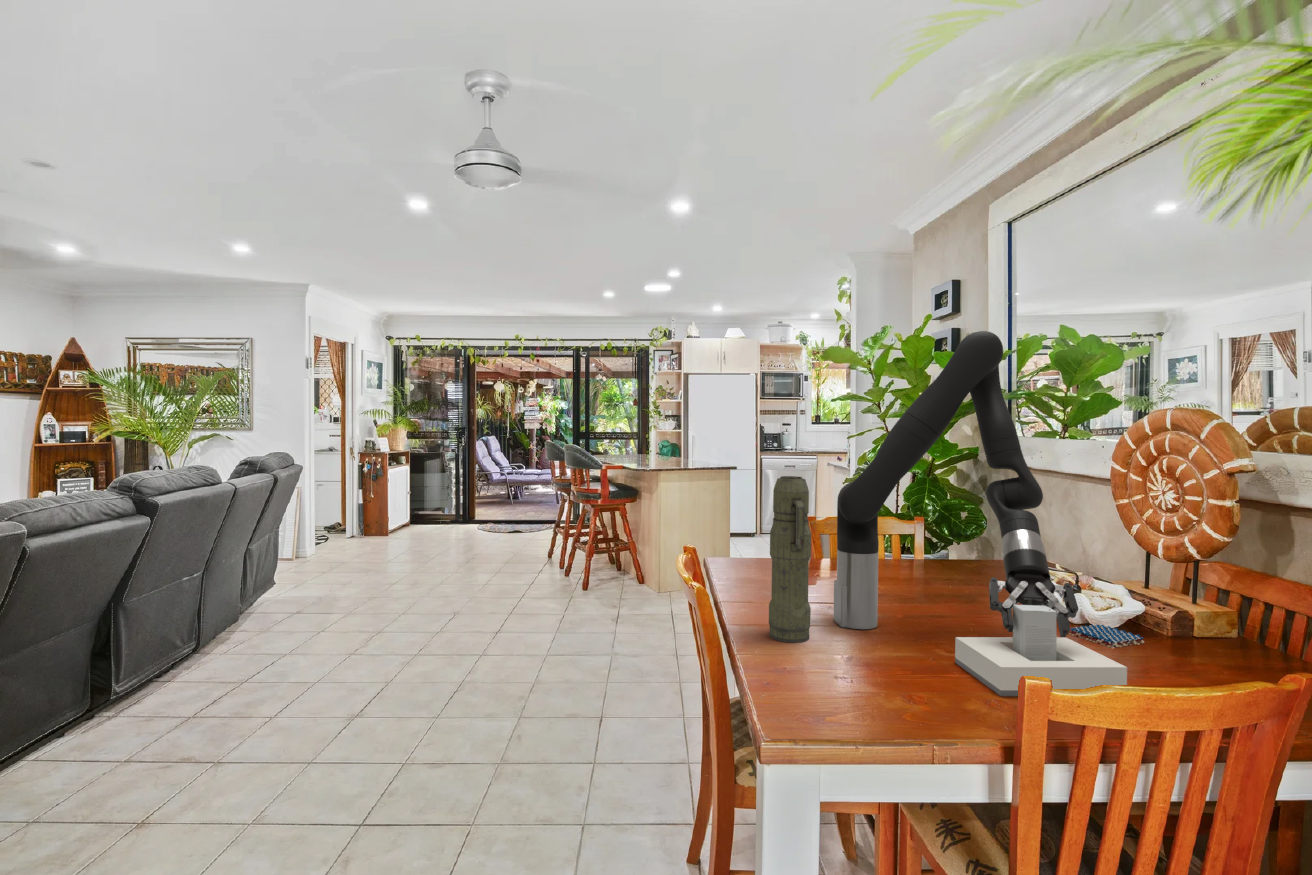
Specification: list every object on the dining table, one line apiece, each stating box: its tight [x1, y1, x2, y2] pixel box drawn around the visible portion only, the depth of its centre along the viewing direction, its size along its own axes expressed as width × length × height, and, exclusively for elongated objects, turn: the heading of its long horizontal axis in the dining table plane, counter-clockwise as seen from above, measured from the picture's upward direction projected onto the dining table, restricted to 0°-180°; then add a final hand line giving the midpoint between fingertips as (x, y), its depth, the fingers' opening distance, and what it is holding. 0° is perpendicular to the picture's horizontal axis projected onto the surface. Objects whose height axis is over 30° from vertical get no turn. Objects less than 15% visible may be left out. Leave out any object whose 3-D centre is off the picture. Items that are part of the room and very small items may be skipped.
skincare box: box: [1012, 604, 1058, 661], centre depth 119 cm, size 6×4×12 cm
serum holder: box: [954, 636, 1128, 697], centre depth 119 cm, size 22×16×5 cm
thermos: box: [768, 475, 812, 644], centre depth 142 cm, size 9×12×35 cm
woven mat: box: [1068, 623, 1145, 649], centre depth 143 cm, size 10×11×2 cm
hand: (1037, 632), depth 118 cm, fingers open, 8 cm apart
